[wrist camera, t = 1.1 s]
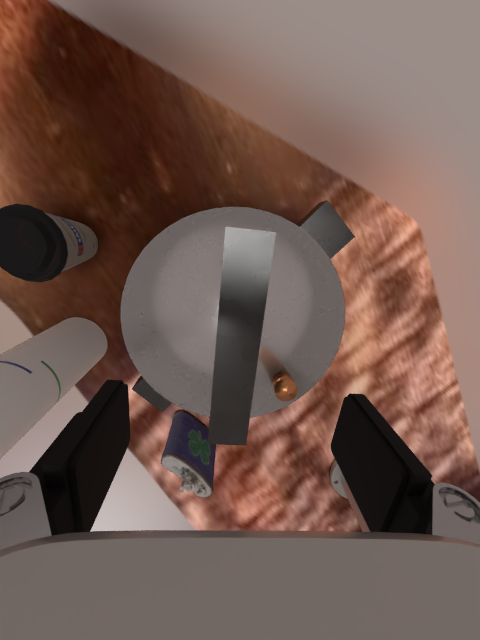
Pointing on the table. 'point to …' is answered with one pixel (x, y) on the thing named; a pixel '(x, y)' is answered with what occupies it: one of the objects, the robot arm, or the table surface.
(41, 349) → the cylindrical container
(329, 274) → the lid
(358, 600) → the robot arm
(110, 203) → the table surface
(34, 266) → the coffee cup
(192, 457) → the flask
